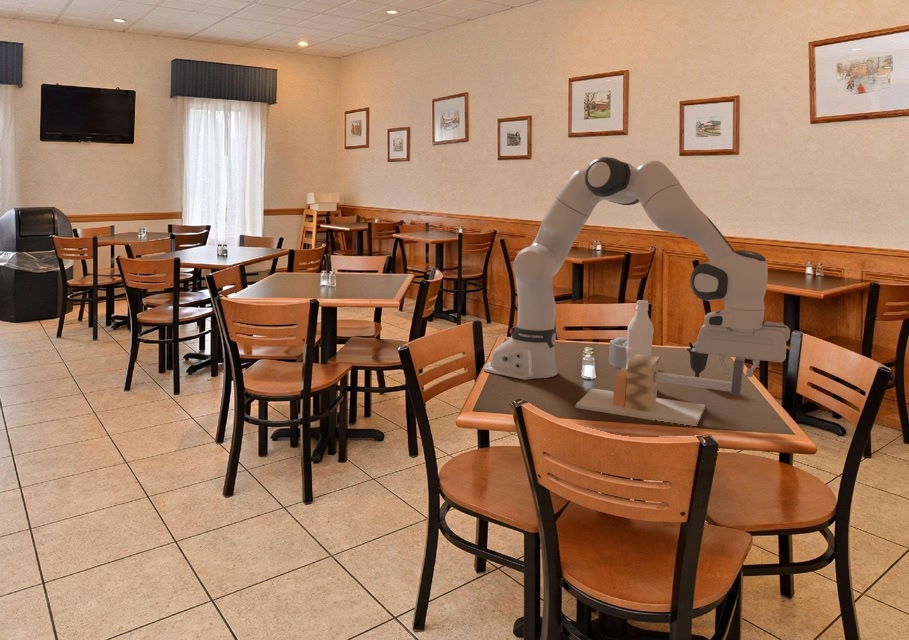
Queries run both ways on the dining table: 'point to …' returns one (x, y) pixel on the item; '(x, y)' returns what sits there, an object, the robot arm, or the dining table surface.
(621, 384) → the block
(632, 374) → the bearing block
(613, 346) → the lumpy-topped squat cylinder
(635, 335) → the water bottle
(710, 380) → the shaft
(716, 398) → the dining table surface
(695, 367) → the sundae
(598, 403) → the base board
